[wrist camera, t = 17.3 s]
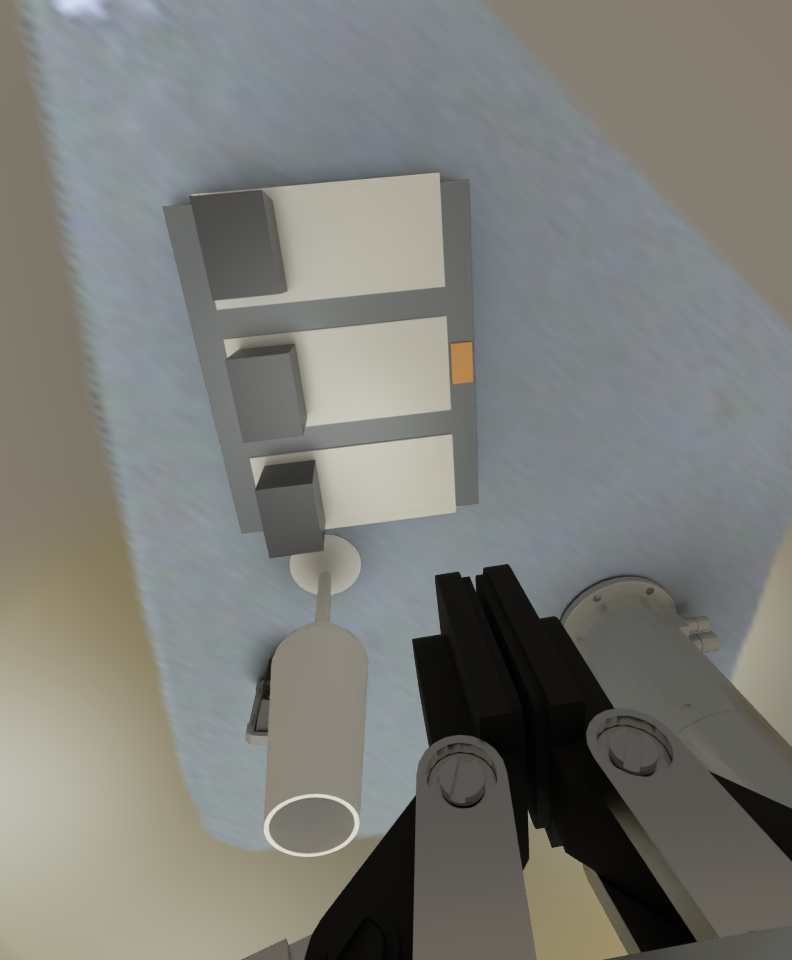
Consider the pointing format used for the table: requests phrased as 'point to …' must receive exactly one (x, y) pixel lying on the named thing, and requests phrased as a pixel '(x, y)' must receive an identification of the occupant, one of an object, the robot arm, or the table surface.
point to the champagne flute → (317, 717)
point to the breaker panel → (340, 346)
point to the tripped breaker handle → (267, 392)
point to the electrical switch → (260, 712)
